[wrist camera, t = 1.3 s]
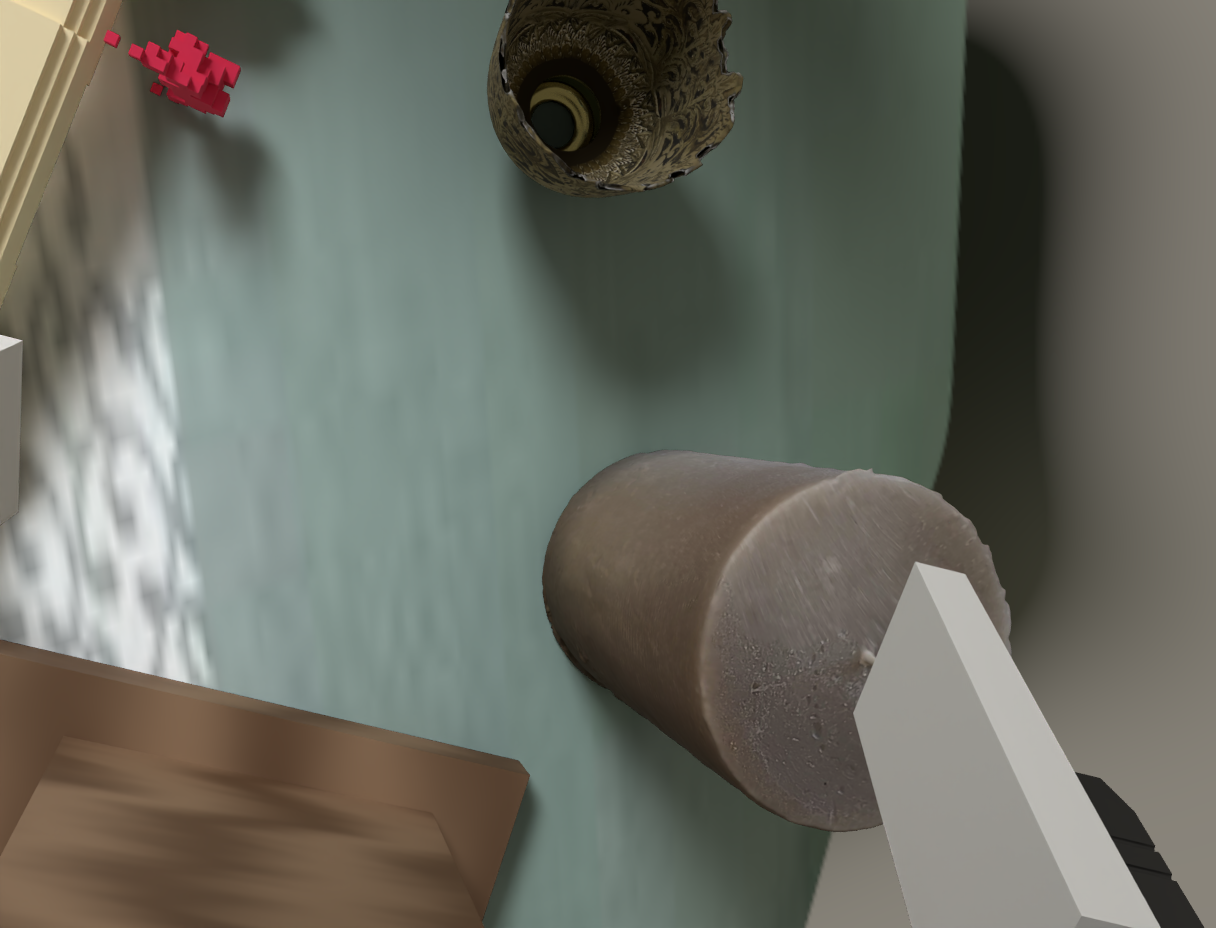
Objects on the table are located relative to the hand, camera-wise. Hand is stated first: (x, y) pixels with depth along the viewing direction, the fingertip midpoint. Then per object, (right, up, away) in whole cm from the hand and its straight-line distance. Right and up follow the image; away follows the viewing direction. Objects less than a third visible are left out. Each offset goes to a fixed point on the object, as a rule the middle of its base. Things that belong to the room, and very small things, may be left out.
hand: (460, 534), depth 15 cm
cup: (0, +13, +23) cm, 26 cm away
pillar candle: (+4, -3, +25) cm, 26 cm away
